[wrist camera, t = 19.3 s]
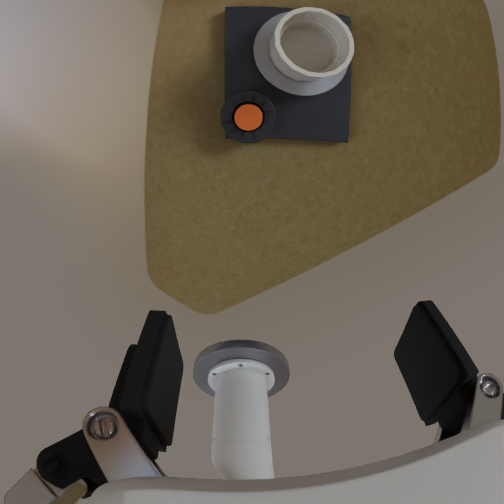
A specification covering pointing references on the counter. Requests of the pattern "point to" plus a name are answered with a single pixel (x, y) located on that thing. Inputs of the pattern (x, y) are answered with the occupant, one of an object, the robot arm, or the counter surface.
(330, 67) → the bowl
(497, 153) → the counter surface
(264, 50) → the brushed metal disc
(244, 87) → the scale
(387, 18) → the counter surface
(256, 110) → the tare button
